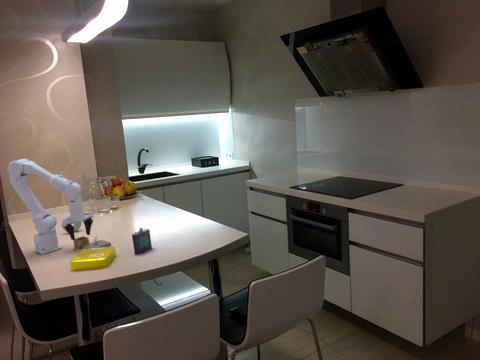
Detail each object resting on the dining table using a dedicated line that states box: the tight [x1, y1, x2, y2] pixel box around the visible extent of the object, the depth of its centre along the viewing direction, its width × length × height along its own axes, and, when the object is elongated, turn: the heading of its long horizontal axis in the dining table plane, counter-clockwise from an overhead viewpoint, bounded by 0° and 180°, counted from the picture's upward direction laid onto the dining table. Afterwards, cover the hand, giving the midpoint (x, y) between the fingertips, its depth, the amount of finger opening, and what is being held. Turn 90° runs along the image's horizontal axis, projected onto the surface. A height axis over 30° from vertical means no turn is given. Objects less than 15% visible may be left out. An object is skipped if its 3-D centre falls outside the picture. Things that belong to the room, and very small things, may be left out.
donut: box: [61, 213, 83, 233], centre depth 217 cm, size 10×4×10 cm, turn 121°
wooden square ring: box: [72, 235, 90, 250], centre depth 192 cm, size 5×5×4 cm
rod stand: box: [81, 234, 112, 250], centre depth 188 cm, size 10×8×6 cm
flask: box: [131, 227, 153, 256], centre depth 177 cm, size 9×3×11 cm, turn 144°
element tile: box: [69, 246, 117, 272], centre depth 169 cm, size 15×15×5 cm
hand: (80, 237), depth 191 cm, fingers open, 7 cm apart
